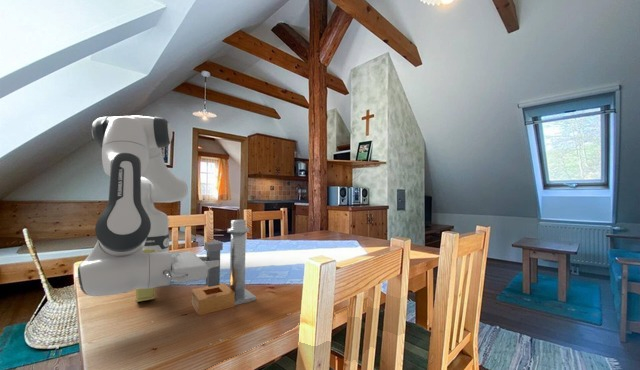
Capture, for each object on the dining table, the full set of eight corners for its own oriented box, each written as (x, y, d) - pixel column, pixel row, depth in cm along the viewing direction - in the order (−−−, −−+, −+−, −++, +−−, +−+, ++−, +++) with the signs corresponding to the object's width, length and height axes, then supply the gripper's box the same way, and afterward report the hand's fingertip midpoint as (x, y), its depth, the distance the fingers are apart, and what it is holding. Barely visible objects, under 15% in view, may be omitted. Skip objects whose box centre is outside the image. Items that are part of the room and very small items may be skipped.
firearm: (156, 291, 97) (156, 249, 100) (153, 301, 72) (154, 246, 76) (141, 293, 95) (142, 251, 98) (133, 305, 70) (135, 248, 73)
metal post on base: (198, 315, 70) (200, 224, 70) (191, 303, 77) (193, 221, 78) (256, 300, 79) (257, 221, 80) (245, 291, 87) (246, 218, 88)
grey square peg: (207, 287, 73) (208, 244, 74) (203, 284, 77) (204, 242, 77) (221, 285, 76) (222, 243, 76) (217, 281, 79) (218, 241, 79)
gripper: (166, 265, 61) (227, 257, 69) (157, 249, 77) (207, 244, 85) (166, 292, 60) (227, 281, 69) (157, 271, 77) (207, 264, 85)
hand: (216, 261), depth 77 cm, fingers closed on grey square peg, 3 cm apart
